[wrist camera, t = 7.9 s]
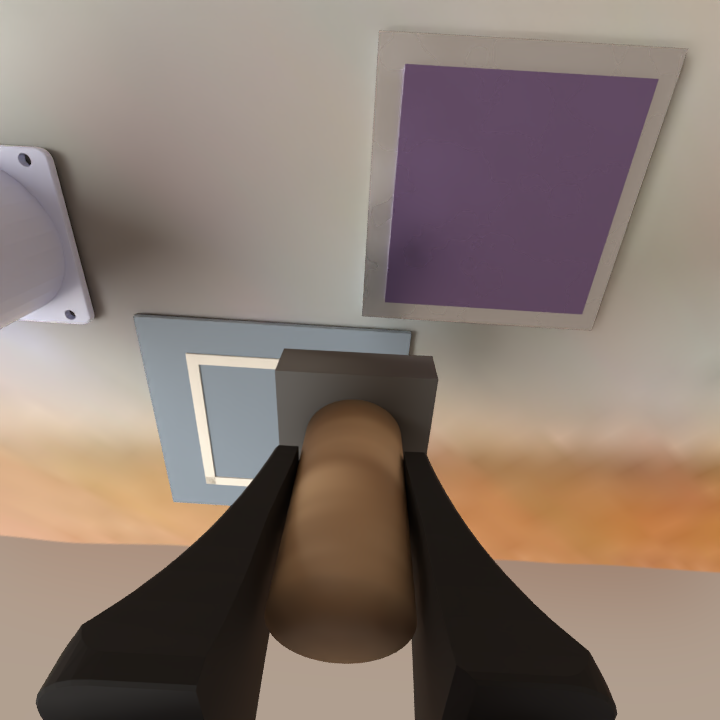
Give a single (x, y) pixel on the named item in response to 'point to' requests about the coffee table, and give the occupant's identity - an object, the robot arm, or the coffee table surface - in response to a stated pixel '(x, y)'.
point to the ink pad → (506, 174)
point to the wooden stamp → (348, 502)
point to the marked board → (228, 393)
